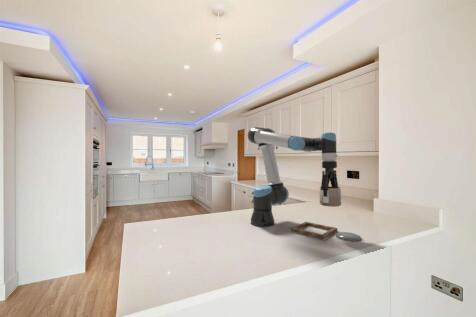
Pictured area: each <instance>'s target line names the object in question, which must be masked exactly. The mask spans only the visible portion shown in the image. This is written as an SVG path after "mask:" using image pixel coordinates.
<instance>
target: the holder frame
mask: <svg viewBox="0 0 476 317" xmlns="http://www.w3.org/2000/svg"><path fill="white" fill-rule="evenodd" d="M305 227H311V228H316V229H320V230H325V231H326V232H324V233H322V234H321V233H318V232H314V231H310V230H309V231H308V230H305V229H304V228H305ZM290 233H296V234H299V235H303V236H307V237H311V238H315V239H320V240H323V241H325V240H326V239H328V238H330V237H331V236H332V235H334V234H336V233H338V227H335V226H330V225H325V224H319V223H314V222H309V221H304V222H302V223H300V224H298V225H295V226H293V227H291V228H290Z"/></svg>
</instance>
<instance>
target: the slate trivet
mask: <svg viewBox="0 0 476 317" xmlns="http://www.w3.org/2000/svg"><path fill="white" fill-rule="evenodd" d="M335 237H336V238H337V239H339V240H342V241H346V242H360V241H361V240H362V237H361V236H360V235H359V234H356V233H352V232H349V231H348V232H347V231H337V232H335Z"/></svg>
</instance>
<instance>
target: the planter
mask: <svg viewBox="0 0 476 317" xmlns="http://www.w3.org/2000/svg"><path fill="white" fill-rule="evenodd" d="M328 190H329V203H323V190H321V186H319V204H320V205H321V206H323V207H336V208H337V207H340V206H341V205H342V190H341V187H339V186H338V187H332V186H329V187H328Z"/></svg>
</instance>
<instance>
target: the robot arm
mask: <svg viewBox="0 0 476 317" xmlns="http://www.w3.org/2000/svg"><path fill="white" fill-rule="evenodd" d="M247 139H248V142H250V143H252V144H256V145H257V146H258V149H260V150H261V155H262V160H263V164H264V168H265V169H264V171H265V175H266V180H267V184H266V185H259V186H255V187H254V188H253V194H252V195H253V196H252V197H253V211H252V215H251V218H250V224H251V225H253V226H257V227H271V226H274V225H275V217H274V214H273V211H272V210H273V209H272V208H273V206H275V205H281V204H283V203H286V202H287V200H288V199H289V194H290V193H289V190H288V188H287V187H286V186H284V182H282V181H281V178H280V173H279V168H278V164H277V159H276V155H275V154H276V153H275V146H276V147H280V148H281V147H282V148H285V149H290V150H293V151H300V152H301V151H303V152H306V153H307V152H321V161H322V162H321V167H322V169H324V170H322V172H321V174H322V175H321V186H320V187H321V190H323V203H329V190H328V187H339V184H338V176H337V168H338V162H337V160H338V159H337V157H338V154H337V134H336V133H335V132H323V133H321V136H320V137H313V138H312V137H305V136H298V135H290V134H286V133H285V134H284V133H278V132H276V131H274V130H273V129H272V128H267V127H259V126H254V127H251V128H250V129H249V130H248V131H247ZM335 169H336V170H335Z"/></svg>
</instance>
